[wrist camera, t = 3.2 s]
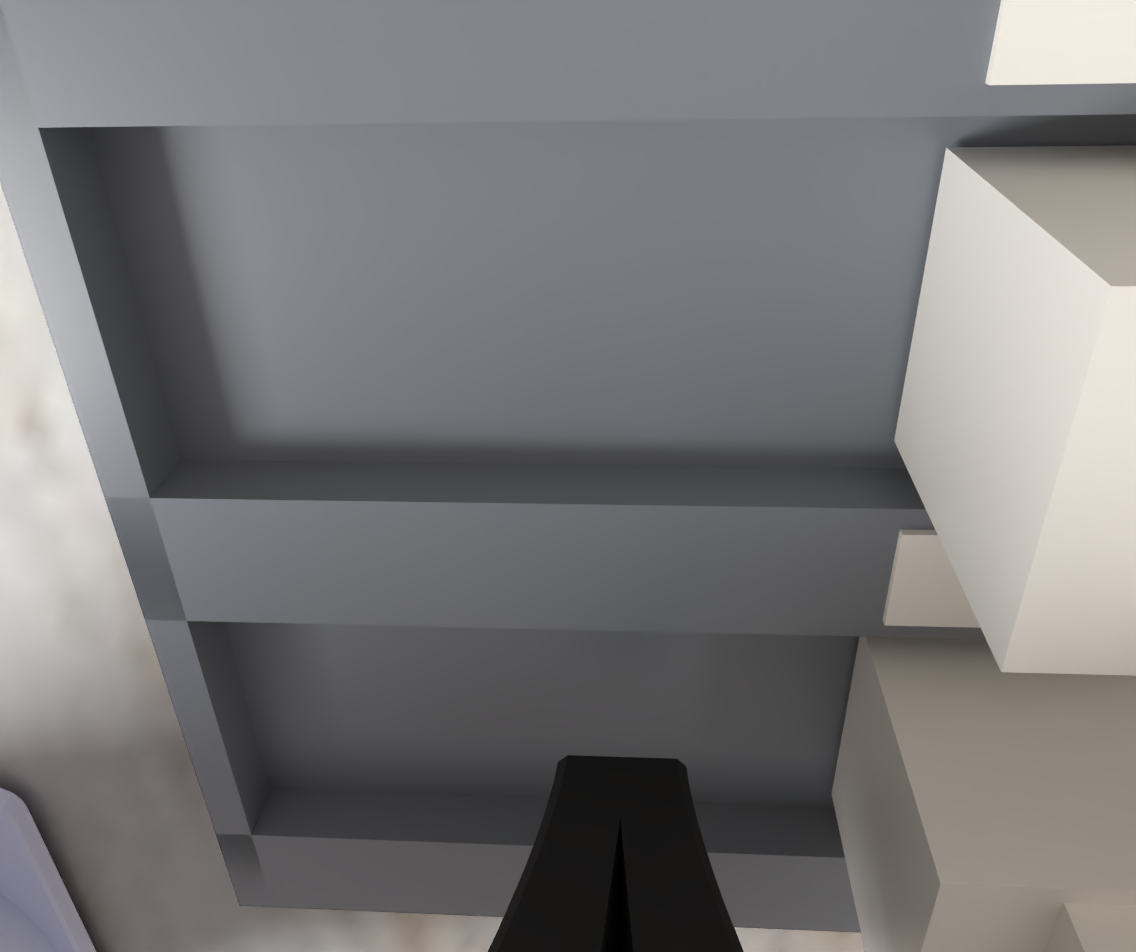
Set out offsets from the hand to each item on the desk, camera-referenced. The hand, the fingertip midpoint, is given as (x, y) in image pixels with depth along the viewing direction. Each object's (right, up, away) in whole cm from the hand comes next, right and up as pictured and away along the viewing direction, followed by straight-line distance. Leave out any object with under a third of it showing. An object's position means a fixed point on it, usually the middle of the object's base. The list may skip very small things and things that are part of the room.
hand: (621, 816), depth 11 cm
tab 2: (+4, +1, +1) cm, 5 cm away
